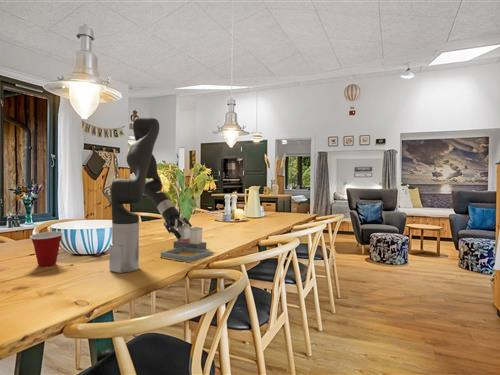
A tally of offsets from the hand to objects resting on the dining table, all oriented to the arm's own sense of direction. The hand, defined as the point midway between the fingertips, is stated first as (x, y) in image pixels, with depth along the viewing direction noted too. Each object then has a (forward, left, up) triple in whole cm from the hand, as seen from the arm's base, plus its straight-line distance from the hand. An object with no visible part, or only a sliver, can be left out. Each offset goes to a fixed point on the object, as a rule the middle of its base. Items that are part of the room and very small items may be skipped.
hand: (186, 236), depth 156 cm
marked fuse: (0, +1, -5) cm, 5 cm away
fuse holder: (0, -2, -6) cm, 7 cm away
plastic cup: (-50, +26, -6) cm, 57 cm away
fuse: (0, -6, -5) cm, 8 cm away
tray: (-12, -10, -6) cm, 17 cm away
